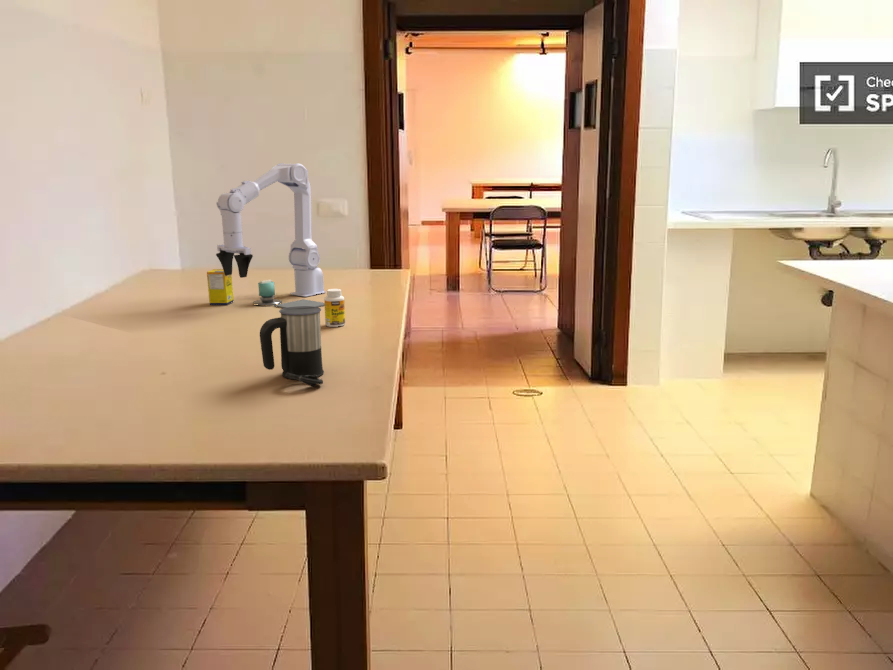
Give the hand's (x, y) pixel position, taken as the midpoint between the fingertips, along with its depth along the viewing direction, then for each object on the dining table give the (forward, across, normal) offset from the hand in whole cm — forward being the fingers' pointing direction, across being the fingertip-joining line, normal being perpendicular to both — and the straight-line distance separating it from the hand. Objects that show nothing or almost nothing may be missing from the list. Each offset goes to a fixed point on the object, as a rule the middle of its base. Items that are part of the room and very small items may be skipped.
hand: (235, 276), depth 249 cm
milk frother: (+10, +77, -39) cm, 87 cm away
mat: (+10, +14, +14) cm, 22 cm away
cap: (+7, +2, +10) cm, 12 cm away
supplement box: (+10, -10, +1) cm, 14 cm away
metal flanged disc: (+10, +2, +10) cm, 14 cm away
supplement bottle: (+10, +43, +1) cm, 44 cm away
